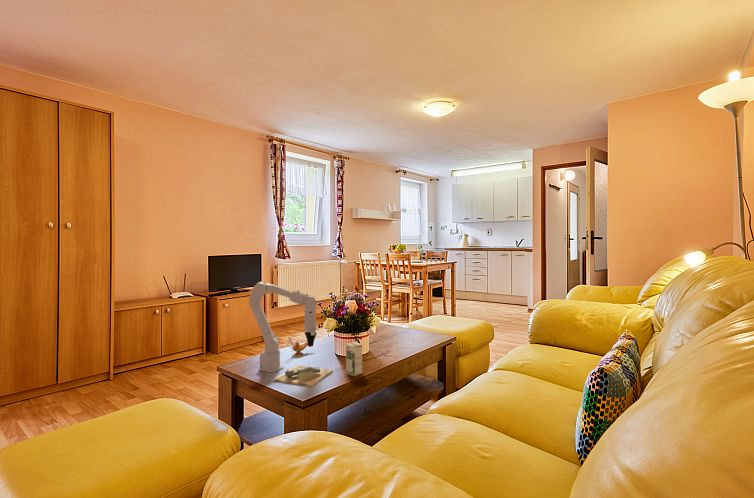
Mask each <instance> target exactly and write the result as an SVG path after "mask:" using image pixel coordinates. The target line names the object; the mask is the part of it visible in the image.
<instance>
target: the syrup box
mask: <svg viewBox="0 0 754 498" xmlns="http://www.w3.org/2000/svg"><path fill="white" fill-rule="evenodd" d="M345 348H346V349H345V353H346V354H345V363H346V365H345V369H346V370H345V374H346V375H349V376H352V377H356V376H359V375H362V374H363V343H358V342H355V341H353V342H348V343H346V346H345Z"/></svg>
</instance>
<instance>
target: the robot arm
mask: <svg viewBox="0 0 754 498" xmlns="http://www.w3.org/2000/svg"><path fill="white" fill-rule="evenodd" d="M266 294H267V295H270V294H277V295H279V296H283V297H285V298H288V299H289V300H290V302H292V303H295V304H298V305H301V306H304V328H303V329H304V331H305V332H304V335H305V338H306V342H308V346H307V347H308V348H311V347H314V343H315V339H316V336H317V335H318V334H317V332H316V331H317V330H319V327H318V326H317V309H316V305H317V300H316V298H315V296H313V295H311V294H308V293H304V292H300V290H298V289H297V290H292V291H290V290H288V289H285V288H282V287H280V286H278V285H276V284H272V283H270V282H264V281H258V282H257V283H256V284H255V285H254V286H253V287H252V289H251V291H250V295H249V296H250V297H249V301H248V304H249V306H250V309H251V311H252V314H253V317H254V318H255V321H256V323H257V327H259V330H260V332H261V335H262V337H263V343H264V349H265V350H263V351H261V352H260V354H259V369H258V371H261V372H267V373H272V374H273V373H276V372H278V371H280V370H281V369H284V366H282V365H281V357H280V355H281V351H280V349H279V345H280V340H279V338H278V336H276V335H275V333H274V331H273V330H272V328H271V326H270V323H269V320H268V318H267V316H266V313H265V311H264V309H263V307H262V306H263V305H262V304H261V301H262V298H263V296H265V295H266Z"/></svg>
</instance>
